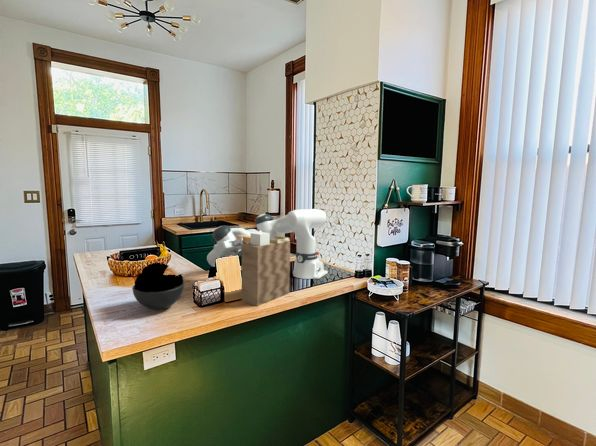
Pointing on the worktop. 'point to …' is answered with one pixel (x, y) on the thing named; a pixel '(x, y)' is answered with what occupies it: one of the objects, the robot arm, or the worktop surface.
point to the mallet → (257, 238)
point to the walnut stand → (265, 271)
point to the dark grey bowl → (157, 287)
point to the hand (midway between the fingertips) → (246, 238)
